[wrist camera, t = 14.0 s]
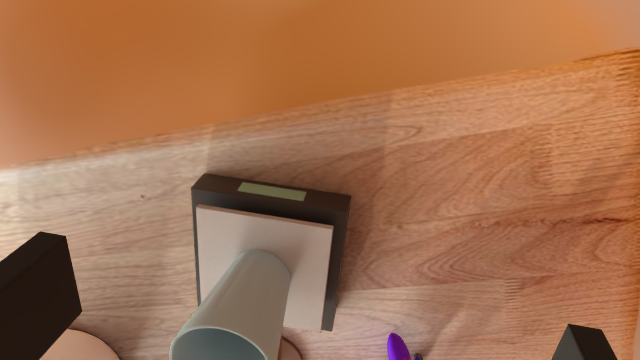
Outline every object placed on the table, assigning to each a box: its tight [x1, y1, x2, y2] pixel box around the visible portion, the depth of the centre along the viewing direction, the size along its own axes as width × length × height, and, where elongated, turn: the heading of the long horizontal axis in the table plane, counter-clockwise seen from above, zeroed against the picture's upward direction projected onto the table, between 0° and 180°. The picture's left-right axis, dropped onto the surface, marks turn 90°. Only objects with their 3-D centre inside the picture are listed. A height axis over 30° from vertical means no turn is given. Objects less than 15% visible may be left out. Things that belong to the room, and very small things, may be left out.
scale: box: [191, 174, 351, 333], centre depth 42 cm, size 14×14×4 cm
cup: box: [169, 250, 290, 360], centre depth 36 cm, size 8×8×10 cm
